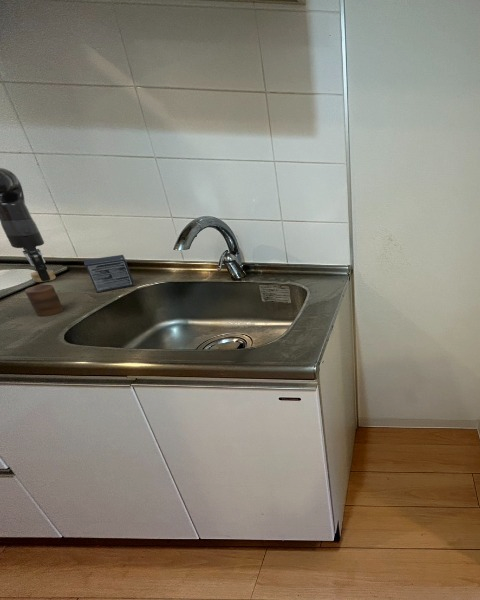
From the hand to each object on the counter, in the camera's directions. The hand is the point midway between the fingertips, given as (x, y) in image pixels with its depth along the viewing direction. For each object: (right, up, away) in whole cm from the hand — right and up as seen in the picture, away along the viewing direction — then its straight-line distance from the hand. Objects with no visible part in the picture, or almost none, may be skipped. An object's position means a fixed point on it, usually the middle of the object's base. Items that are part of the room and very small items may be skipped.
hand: (44, 277), depth 111 cm
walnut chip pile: (+23, -12, -19) cm, 32 cm away
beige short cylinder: (0, 0, 0) cm, 1 cm away
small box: (+27, -3, -1) cm, 27 cm away
